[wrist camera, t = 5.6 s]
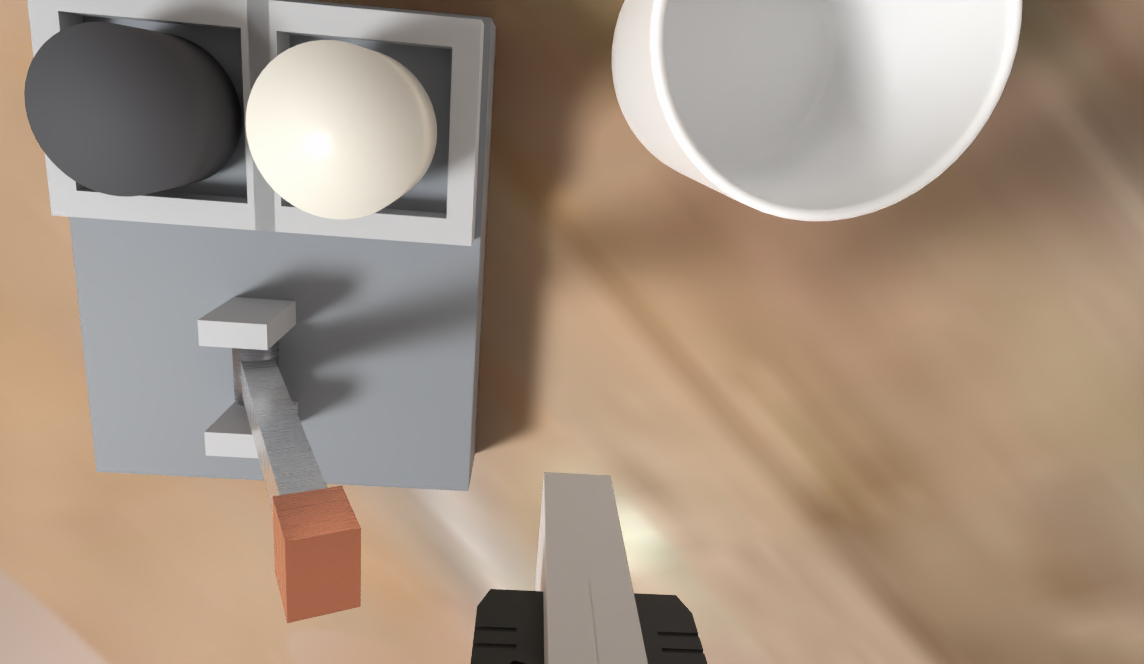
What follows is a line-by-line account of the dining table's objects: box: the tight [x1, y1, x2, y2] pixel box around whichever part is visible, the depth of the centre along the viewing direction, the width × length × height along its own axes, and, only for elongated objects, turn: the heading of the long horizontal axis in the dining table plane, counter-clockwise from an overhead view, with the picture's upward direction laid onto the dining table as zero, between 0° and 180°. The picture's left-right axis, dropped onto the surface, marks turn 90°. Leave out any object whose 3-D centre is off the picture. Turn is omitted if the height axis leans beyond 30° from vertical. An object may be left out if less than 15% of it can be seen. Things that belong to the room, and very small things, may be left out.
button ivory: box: [246, 40, 437, 220], centre depth 21 cm, size 4×4×3 cm
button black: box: [25, 22, 242, 197], centre depth 21 cm, size 4×4×3 cm
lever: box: [232, 341, 361, 623], centre depth 20 cm, size 2×1×13 cm
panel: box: [27, 0, 496, 491], centre depth 25 cm, size 16×13×6 cm
